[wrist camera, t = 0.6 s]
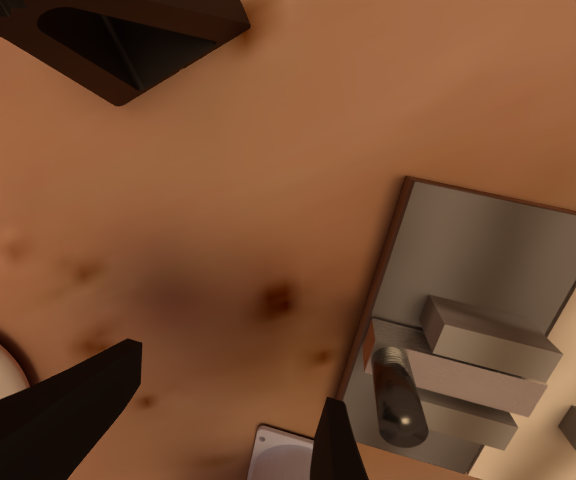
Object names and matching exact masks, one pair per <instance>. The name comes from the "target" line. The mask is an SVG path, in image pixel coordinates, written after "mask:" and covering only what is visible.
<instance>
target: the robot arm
mask: <svg viewBox="0 0 576 480" xmlns="http://www.w3.org/2000/svg"><path fill="white" fill-rule="evenodd" d="M141 362H142V343H141V342H138V341H134V340H131V339H126V340H124V341H122V342H120V343H118V344H116V345H114V346H112V347H110V348H108V349H106V350H104V351H103V352H101V353H99V354H97V355H95V356H93V357H91V358H89V359H87V360H85V361H83V362H81V363H79V364H77V365H75V366H73V367H71V368H69V369H67V370H65V371H63V372H61V373H59V374H57V375H55V376H52V377H50V378H48V379H46V380H44V381H42V382H40V383H37V384H35V385H33V386H31V387H29V388H26V389H24V390H22V391H19V392H17V393H14V394H12V395H9V396H7V397H4V398H2V399H0V480H67V479H68V478H69V476H70V475H71V474H72V472H73V471H74V470H75V469H76V467H77V466H78V465H79V464H80V463H81V461H82V460H83V459H84V458H85V456H86V455H87V454H88V453H89V452H90V450H91V449H92V448H93V447H94V446H95V444H96V443H97V442H98V441H99V440H100V438H101V437H102V436H103V435H104V434H105V432H106V431H107V430H108V429H109V427H110V426H111V425H112V424H113V423H114V421H115V420H116V419H117V418H118V416H119V415H120V414H121V413H122V411H123V410H124V409H125V407H126V406H127V404H128V403H129V401H130V400H131V398H132V397H133V395H134V394H135V392H136V390H137V389H138V387H139V386H140V384H141ZM247 480H369V479H368V476H367V473H366V471H365V468H364V465H363V462H362V459H361V456H360V453H359V451H358V447H357V444H356V441H355V438H354V434H353V431H352V428H351V424H350V420H349V416H348V412H347V408H346V404H345V403H344V401H340V400H337V399H333V398H330V397H327V399H326V402H325V405H324V408H323V411H322V415H321V418H320V421H319V424H318V427H317V431H316V434H315V437H314V440H310V439H307V438H304V437H300V436H297V435H294V434H290V433H287V432H284V431H280V430H277V429H274V428H270V427H267V426H260V427H259V428H258V431H257V435H256V439H255V444H254V449H253V453H252V458H251V463H250V467H249V472H248V477H247Z"/></svg>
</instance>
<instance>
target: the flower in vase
mask: <svg viewBox="0 0 576 480" xmlns="http://www.w3.org/2000/svg"><path fill="white" fill-rule="evenodd" d="M29 387H30V386H29V383H28V381H27V378H26V376H25V374H24V372H23V370H22V369H21V367H20V366H19V364H18V363H17V362H16V360H15V359H14V358H13V357H12V356H11V354H10V353H9V352H8V351H7V350H6V349H5V348H3V347H2V346H1V345H0V399H2V398H4V397H7V396H9V395H12V394H14V393H17V392H19V391H22V390H24V389H26V388H29Z"/></svg>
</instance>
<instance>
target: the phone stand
mask: <svg viewBox="0 0 576 480" xmlns="http://www.w3.org/2000/svg"><path fill="white" fill-rule="evenodd" d="M249 28H250V23H249V20H248V18H247V16H246V13H245V11H244V8H243V6H242V4H241V1H240V0H0V37H2V38H4V39H6V40H7V41H9V42H11V43H13V44H14V45H16V46H17V47H19V48H21V49H22V50H24V51H26V52H27V53H29V54H31V55H32V56H34V57H36V58H37V59H39V60H41V61H42V62H44V63H46V64H47V65H49V66H50V67H52V68H54V69H55V70H57V71H59V72H60V73H62V74H64V75H65V76H67V77H69V78H70V79H72V80H74V81H75V82H77V83H78V84H80V85H82V86H83V87H85V88H87V89H88V90H90V91H92V92H93V93H95V94H97V95H98V96H100V97H102V98H103V99H105V100H107V101H108V102H110V103H111V104H113V105H115V106H122V105H124V104H126V103H128V102H129V101H131V100H133V99H134V98H136V97H138V96H139V95H141V94H143V93H144V92H146V91H148V90H149V89H151V88H153V87H154V86H156V85H157V84H159V83H161V82H162V81H164V80H166V79H167V78H169V77H171V76H172V75H174V74H176V73H177V72H179V70H180V69H181V68H185V67H187V66H189V65H190V64H192V63H194V62H195V61H197V60H199V59H200V58H202V57H204V56H205V55H207V54H208V53H210V52H212V51H213V50H215V49H217V48H218V47H220V46H222V45H223V44H225V43H227V42H228V41H230V40H232V39H233V38H235V37H236V36H238V35H240V34H241V33H243V32H245V31H246V30H248V29H249Z"/></svg>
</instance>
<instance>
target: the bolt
mask: <svg viewBox="0 0 576 480" xmlns="http://www.w3.org/2000/svg"><path fill="white" fill-rule="evenodd" d="M362 350H363V362H364V373H368V374H372V375H373V383H374V391H375V400H376V409H377V417H378V426H379V432H380V435H381V436H382V438H383V439H384V440H385V441H386V442H388V443H389V444H391V445H393V446H396V447H400V448H411V447H415V446H418V445H420V444H422V443H423V442H424V441H425V440H426V438H427V436H428V433H429V430H428V426H427V422H426V419H425V415H424V412H423V408H422V404H421V401H420V397H419V394H418V390H417V387H419V388H423V389H426V390H430V391H434V392H437V393H441V394H444V395H448V396H452V397H455V398H459V399H463V400H466V401H470V402H474V403H477V404H481V405H485V406H488V407H492V408H495V409H499V410H503V411H506V412H510V413H514V414H517V415H521V416H525V417H528V418H529V416H530V415H531V413H532V411H533V410H534V408H535V406H536V405H537V403H538V402H539V400H540V398H541V397H542V395H543V394H544V392H545V390H546V389H547V387H548V385H547V384H546V383H544V382H541V381H537V380H533V379H529V378H525V377H522V376H518V375H514V374H510V373H506V372H503V371H499V370H495V369H491V368H487V367H484V366H480V365H476V364H472V363H468V362H465V361H461V360H457V359H453V358H449V357H445V356H442V355H438V354H434V353H432V351H431V348H430V346H429V343H428V341H427V338H426V336H425V333H424V331H420V330H417V329H413V328H409V327H405V326H401V325H397V324H393V323H389V322H385V321H382V320H378V319H374V318H372V320H371V323H370V326H369V329H368V332H367V335H366V338H365V341H364V344H363V347H362Z"/></svg>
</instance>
